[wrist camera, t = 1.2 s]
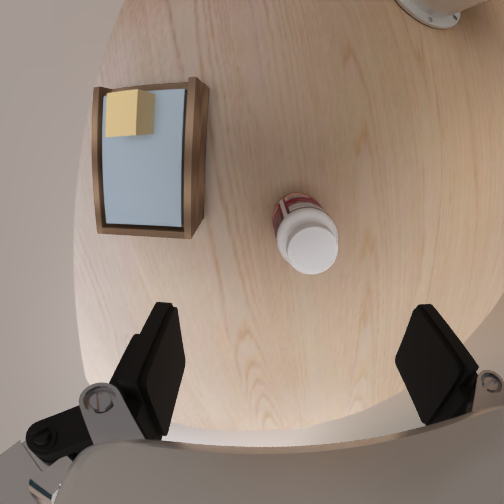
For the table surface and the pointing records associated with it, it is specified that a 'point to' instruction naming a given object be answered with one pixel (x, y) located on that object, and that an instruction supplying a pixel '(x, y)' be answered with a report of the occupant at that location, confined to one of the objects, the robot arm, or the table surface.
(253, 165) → the table surface
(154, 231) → the walnut box
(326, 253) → the pill bottle
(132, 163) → the cover plate
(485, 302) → the table surface
